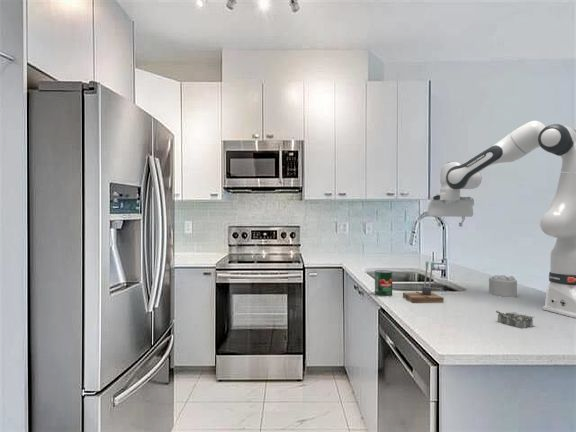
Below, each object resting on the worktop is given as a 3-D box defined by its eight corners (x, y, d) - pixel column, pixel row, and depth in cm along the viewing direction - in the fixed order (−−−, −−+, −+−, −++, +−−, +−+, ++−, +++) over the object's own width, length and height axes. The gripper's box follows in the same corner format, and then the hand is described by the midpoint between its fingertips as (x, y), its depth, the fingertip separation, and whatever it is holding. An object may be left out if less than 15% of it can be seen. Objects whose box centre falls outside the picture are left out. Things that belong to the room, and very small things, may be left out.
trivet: (443, 302, 185) (443, 297, 185) (413, 303, 185) (413, 297, 184) (431, 296, 198) (431, 291, 198) (402, 297, 197) (402, 291, 197)
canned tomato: (382, 292, 208) (382, 269, 208) (396, 295, 201) (396, 271, 201) (371, 294, 203) (371, 270, 203) (384, 297, 197) (384, 272, 196)
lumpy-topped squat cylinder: (508, 292, 210) (508, 274, 210) (522, 297, 197) (522, 278, 197) (486, 292, 210) (486, 274, 210) (498, 297, 197) (498, 278, 197)
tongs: (430, 295, 190) (434, 263, 190) (421, 294, 191) (425, 262, 191) (430, 294, 193) (434, 262, 193) (421, 293, 194) (425, 261, 194)
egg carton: (494, 322, 154) (494, 310, 154) (510, 320, 157) (510, 308, 157) (520, 329, 144) (520, 316, 144) (537, 327, 147) (537, 314, 147)
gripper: (473, 196, 208) (473, 226, 208) (427, 197, 214) (427, 225, 215) (474, 196, 202) (474, 226, 202) (427, 196, 209) (427, 226, 209)
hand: (449, 226), depth 208 cm, fingers open, 8 cm apart
